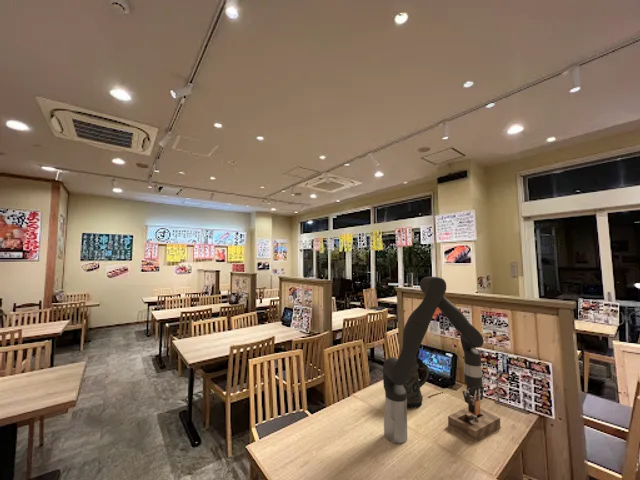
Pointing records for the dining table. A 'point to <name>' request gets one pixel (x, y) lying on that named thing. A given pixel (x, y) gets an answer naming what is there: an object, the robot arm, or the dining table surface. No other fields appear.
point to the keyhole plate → (478, 430)
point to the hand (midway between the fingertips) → (474, 410)
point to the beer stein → (416, 384)
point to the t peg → (476, 412)
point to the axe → (434, 394)
